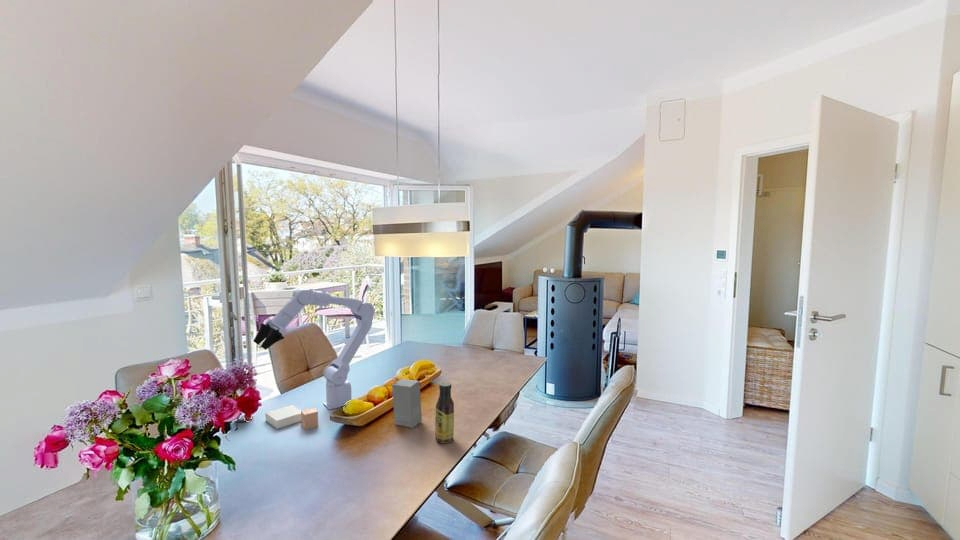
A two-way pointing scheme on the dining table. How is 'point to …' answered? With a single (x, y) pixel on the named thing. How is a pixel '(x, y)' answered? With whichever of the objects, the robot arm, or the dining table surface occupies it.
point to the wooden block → (309, 418)
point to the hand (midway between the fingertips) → (259, 345)
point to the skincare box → (407, 403)
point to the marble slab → (283, 416)
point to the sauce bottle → (444, 414)
